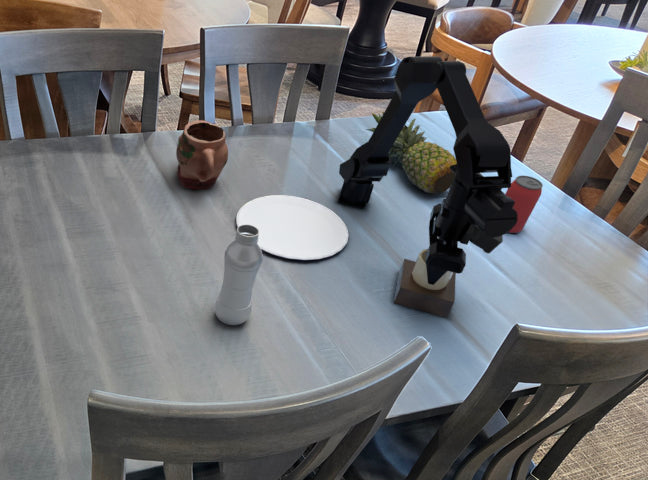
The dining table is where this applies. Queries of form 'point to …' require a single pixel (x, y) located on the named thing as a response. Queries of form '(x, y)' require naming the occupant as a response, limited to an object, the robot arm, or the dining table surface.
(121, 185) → the dining table surface
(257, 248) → the plastic bottle
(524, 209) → the beer can
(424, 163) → the fruit
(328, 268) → the dining table surface
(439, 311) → the riser
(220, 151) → the decorative planter
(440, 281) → the bowl
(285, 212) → the plate
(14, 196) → the dining table surface
